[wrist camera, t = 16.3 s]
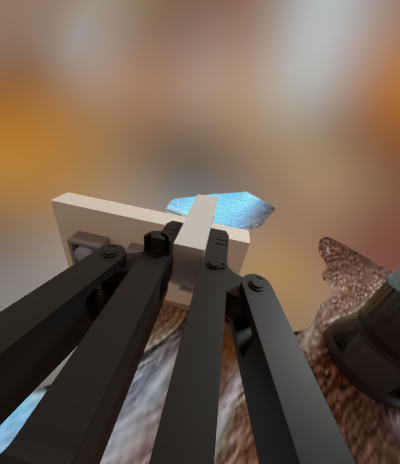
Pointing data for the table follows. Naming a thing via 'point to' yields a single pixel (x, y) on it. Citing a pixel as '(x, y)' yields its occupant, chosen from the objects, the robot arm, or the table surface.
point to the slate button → (83, 252)
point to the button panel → (129, 233)
